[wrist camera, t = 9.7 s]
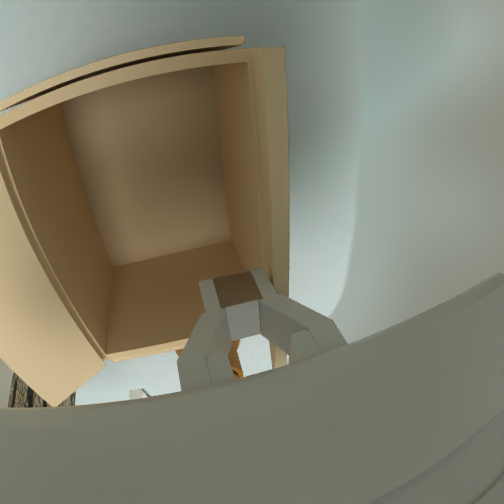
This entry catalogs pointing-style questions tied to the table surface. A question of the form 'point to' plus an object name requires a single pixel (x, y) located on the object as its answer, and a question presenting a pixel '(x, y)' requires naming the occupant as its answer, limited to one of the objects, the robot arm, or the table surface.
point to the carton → (138, 187)
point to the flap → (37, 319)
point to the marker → (137, 394)
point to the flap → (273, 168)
